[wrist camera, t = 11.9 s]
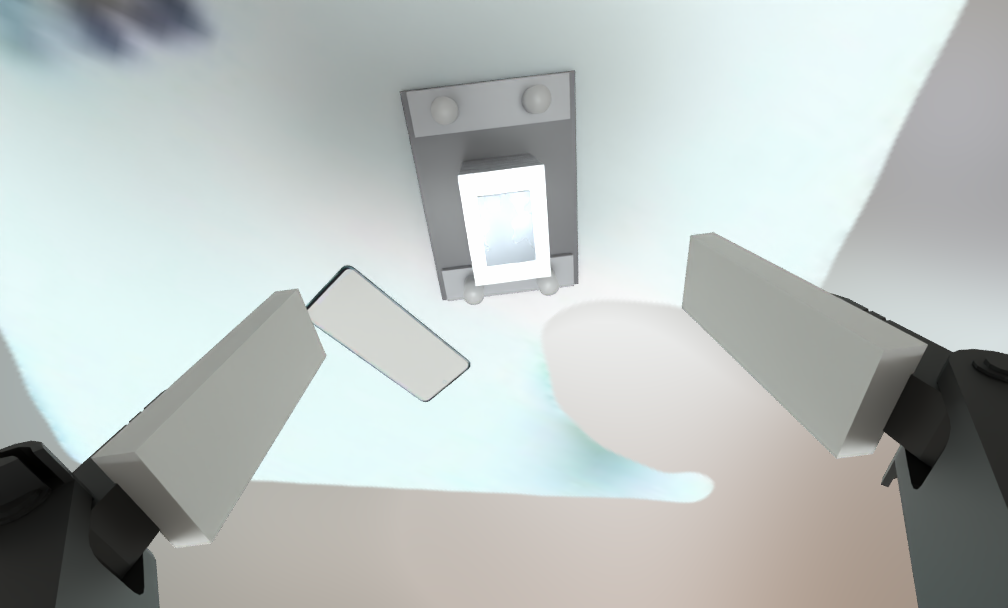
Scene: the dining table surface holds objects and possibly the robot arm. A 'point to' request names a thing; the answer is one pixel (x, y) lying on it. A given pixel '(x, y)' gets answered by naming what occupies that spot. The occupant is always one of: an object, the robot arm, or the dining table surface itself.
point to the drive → (506, 218)
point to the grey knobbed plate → (489, 134)
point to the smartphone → (385, 335)
